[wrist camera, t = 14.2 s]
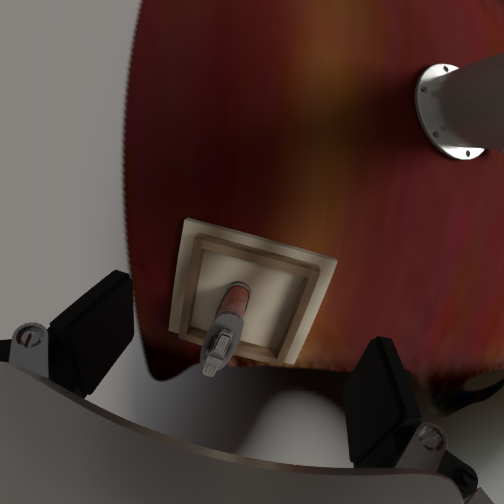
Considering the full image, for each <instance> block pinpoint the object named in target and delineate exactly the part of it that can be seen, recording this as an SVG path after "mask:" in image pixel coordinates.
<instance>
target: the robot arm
mask: <svg viewBox="0 0 504 504" xmlns="http://www.w3.org/2000/svg"><path fill="white" fill-rule="evenodd" d="M421 90H422V91H421ZM415 106H416V111H417V115H418V119H419V121H420V123H421V126H422V128H423V130H424V131H425V133H426V135H427V137H428V138H429V139H430V141H431V142H432V143H433V144H434V145H435V146H436V147H437V148H438V149H439V150H440V151H441V152H443V153H444V154H445V155H447V156H449V157H452V158H454V159H460V160H469V159H473V158H475V157H477V156H479V155H480V154H481V153H482V152H483V151H484V149H496V150H499V151H500V152H501V153H502V154H503V155H504V52H502V53H499V54H496V55H493V56H490V57H487V58H485V59H482V60H479V61H476V62H474V63H471V64H469V65H466V66H463V67H461V68H457V67H455V66H453V65H450V64H443V63H441V64H435V65H433V66H431V67H429V68H427V69H426V70H424V71H423V72H422V74H421V75H420V76H419V78H418V80H417V83H416V88H415ZM433 134H434V136H433ZM133 336H134V313H133V280H132V279H131V278H130V276H129V274H128V273H124V272H121V271H118V270H115V271H113V272H111V273H110V274H109V275H108V276H106V277H105V278H104V279H102V280H101V281H100V282H99V283H98V284H96V285H95V286H94V287H92V288H91V289H90V290H89V291H88V292H86V293H85V294H84V295H83V296H81V297H80V298H79V299H78V300H76V301H75V302H74V303H73V304H72V305H70V306H69V307H68V308H67V309H66V310H65V311H63V312H62V313H61V314H60V315H59V316H57V318H55V319H54V320H53V321H52V322H51V323H50V327H49V328H48V329H46V328H45V327H44V326H43V325H41V324H38V323H26V324H24V325H21V326H20V327H18V328H17V329H16V330H15V332H14V334H13V336H12V339H8V340H0V504H494V503H493V502H492V501H491V500H490V498H489V497H488V496H487V495H486V493H485V492H484V491H483V490H482V488H481V487H479V488H478V489H477V485H478V477H477V474H476V473H475V471H474V470H473V469H472V468H471V467H470V466H468V465H467V464H465V463H464V462H462V461H461V460H459V459H458V458H457V457H455V456H454V455H452V454H451V453H450V452H448V451H447V450H446V447H447V437H446V435H445V433H444V431H443V430H442V429H441V428H440V427H439V426H437V425H435V424H433V423H423V424H421V423H420V419H421V418H422V417H421V414H420V411H419V408H418V405H417V402H416V399H415V397H414V394H413V391H412V388H411V386H410V383H409V380H408V378H407V375H406V373H405V370H404V368H403V365H402V363H401V360H400V358H399V355H398V353H397V350H396V348H395V346H394V343H393V341H392V339H390V338H386V337H380V336H378V337H376V338H375V339H372V340H371V341H370V342H369V344H368V346H367V348H366V350H365V352H364V353H363V355H362V357H361V359H360V360H359V362H358V364H357V366H356V367H355V369H354V371H353V372H352V374H351V376H350V377H349V379H348V380H347V382H346V384H345V386H344V388H343V400H344V407H345V416H346V425H347V434H348V445H349V456H350V461H351V462H353V463H354V468H328V467H313V466H301V465H293V464H284V463H276V462H270V461H264V460H258V459H253V458H248V457H243V456H238V455H233V454H229V453H224V452H221V451H217V450H213V449H209V448H205V447H202V446H198V445H195V444H191V443H188V442H185V441H182V440H179V439H175V438H173V437H170V436H167V435H164V434H161V433H159V432H156V431H153V430H151V429H148V428H146V427H143V426H141V425H138V424H136V423H133V422H131V421H129V420H126V419H124V418H122V417H120V416H117V415H115V414H113V413H111V412H109V411H107V410H105V409H103V408H100V407H99V406H97V405H95V404H92V403H91V402H89V401H87V400H85V399H84V398H85V397H86V396H87V394H88V395H90V394H92V393H93V392H94V390H95V389H96V387H97V386H98V385H99V383H100V382H101V381H102V379H103V378H104V376H105V375H106V374H107V373H108V371H109V370H110V368H111V367H112V366H113V364H114V363H115V362H116V360H117V359H118V358H119V356H120V355H121V354H122V352H123V351H124V350H125V349H126V347H127V346H128V345H129V343H130V342H131V341H132V339H133Z"/></svg>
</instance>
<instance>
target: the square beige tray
mask: <svg viewBox="0 0 504 504" xmlns="http://www.w3.org/2000/svg"><path fill="white" fill-rule="evenodd" d="M336 264H337V260H336V258H334V257H330V256H327V255H323V254H320V253H316V252H313V251H309V250H306V249H302V248H298V247H295V246H291V245H288V244H284V243H281V242H277V241H273V240H270V239H266V238H262V237H259V236H255V235H251V234H248V233H244V232H240V231H237V230H233V229H229V228H225V227H222V226H218V225H214V224H210V223H207V222H203V221H199V220H195V219H191V218H186V219H185V220H184V226H183V231H182V237H181V243H180V249H179V255H178V262H177V268H176V275H175V282H174V290H173V297H172V305H171V314H170V323H169V331H172V332H175V333H178V334H179V336H178V338H180V339H183V340H187V341H190V342H193V343H196V344H199V345H203V342H204V339H205V336H206V334H207V332H208V330H209V328H210V327H211V325H212V323H213V322H214V317H215V314H216V311H217V307H218V305H219V303H220V301H221V299H222V297H223V295H224V293H225V292H226V290H227V289H228V287H229V286H230V285H231V283H233V282H235V281H243V282H245V283H247V284H248V285H249V286H250V288H251V295H250V299H249V303H248V307H247V310H246V312H245V315H244V317H243V320H244V326H243V330H242V334H241V338H240V341H239V344H238V346H237V349H236V351H235V353H234V355H238V356H242V357H246V358H250V359H254V360H258V361H262V362H266V363H271V364H275V365H280V366H282V365H283V363H284V362H285V363H289V364H294V363H295V361H296V359H297V357H298V355H299V352H300V350H301V348H302V346H303V344H304V342H305V339H306V337H307V335H308V333H309V330H310V328H311V326H312V324H313V321H314V319H315V317H316V314H317V312H318V310H319V307H320V305H321V302H322V300H323V298H324V295H325V293H326V290H327V288H328V285H329V283H330V280H331V278H332V275H333V272H334V270H335V267H336Z"/></svg>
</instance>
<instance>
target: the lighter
mask: <svg viewBox="0 0 504 504" xmlns="http://www.w3.org/2000/svg"><path fill="white" fill-rule="evenodd" d="M250 295H251V288H250V286H249V285H248V284H247V283H245V282H243V281H235V282H233V283H231V285H230V286H229V287H228V289H227V290H226V292H225V293H224V295H223V297H222V299H221V301H220V303H219V305H218V307H217V311H216V314H215V317H214V322H213V323H212V325H211V327H210V328H209V330H208V332H207V334H206V336H205V339H204V342H203V345H202V349H201V355H200V362H201V364H202V365H203V366H204V370H203V373H204V374H205V375H207V376H210V377H211V376H213V375H214V374H215V372H216V371H217V370H220V369H222V368H223V367H224V366H225V365H226V364H227V363H228V361H229V360H230V359H231V357H232V356H233V354H234V353H235V351H236V349H237V346H238V344H239V341H240V338H241V334H242V330H243V326H244V320H243V317H244V315H245V312H246V310H247V307H248V303H249V299H250Z"/></svg>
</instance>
